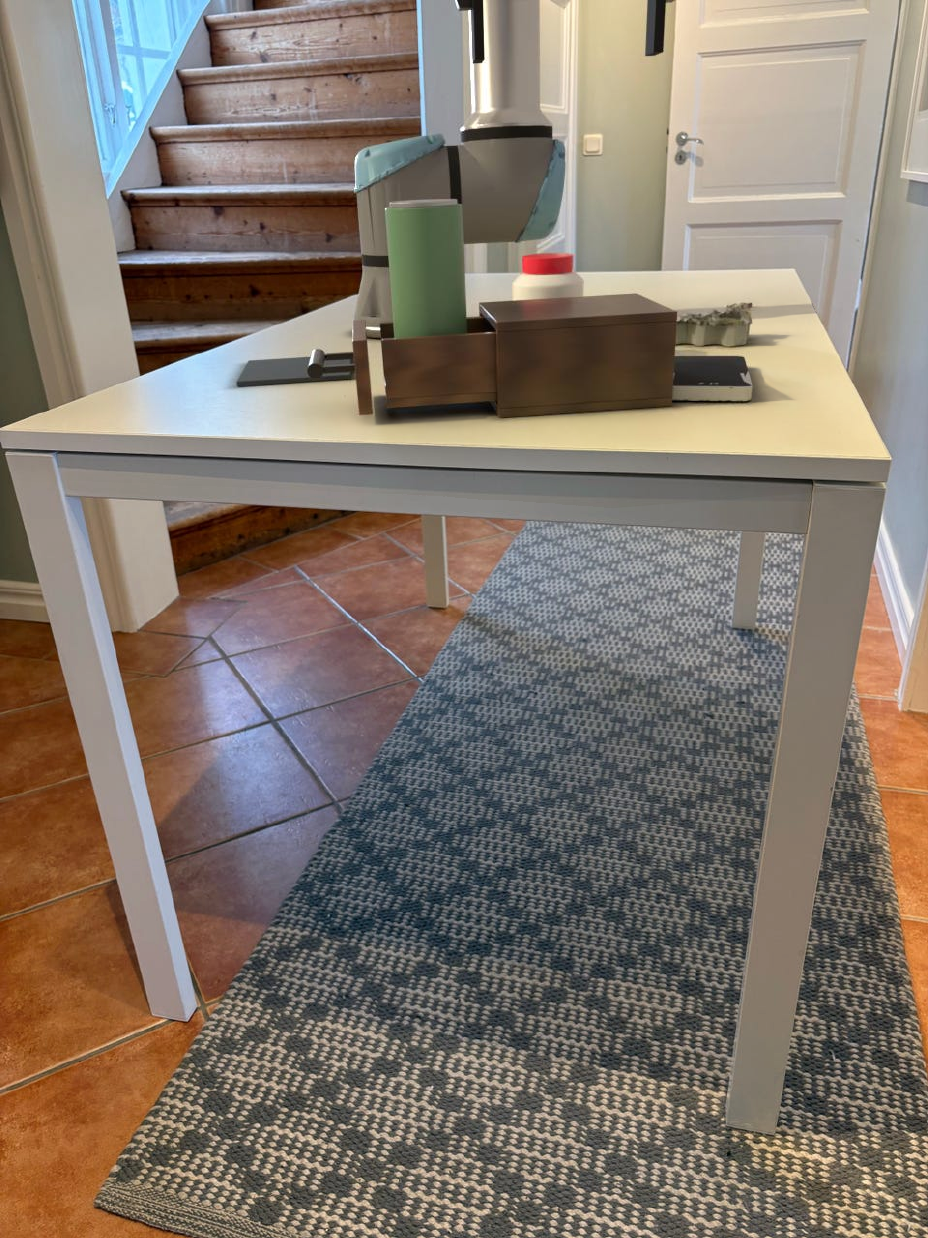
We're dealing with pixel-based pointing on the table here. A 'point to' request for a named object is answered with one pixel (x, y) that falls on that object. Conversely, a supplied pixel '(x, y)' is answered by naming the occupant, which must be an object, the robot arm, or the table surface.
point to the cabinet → (582, 354)
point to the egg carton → (716, 326)
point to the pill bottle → (547, 277)
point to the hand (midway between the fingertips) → (566, 58)
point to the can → (426, 267)
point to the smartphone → (711, 378)
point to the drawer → (421, 366)
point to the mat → (285, 371)
